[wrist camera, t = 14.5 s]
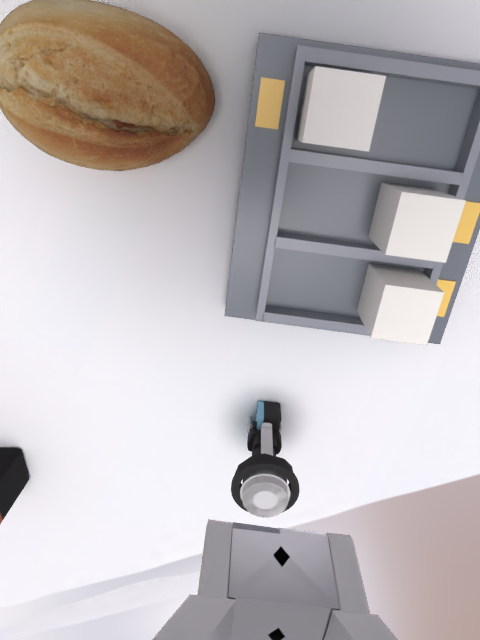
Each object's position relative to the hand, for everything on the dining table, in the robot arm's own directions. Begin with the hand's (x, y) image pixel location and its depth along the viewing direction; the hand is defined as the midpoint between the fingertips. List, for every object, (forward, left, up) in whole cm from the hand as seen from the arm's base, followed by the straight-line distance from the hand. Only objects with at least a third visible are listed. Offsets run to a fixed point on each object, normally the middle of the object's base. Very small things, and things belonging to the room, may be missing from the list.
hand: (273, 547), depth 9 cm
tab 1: (-9, +3, -27) cm, 29 cm away
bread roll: (-9, -12, -29) cm, 33 cm away
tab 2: (-3, +10, -27) cm, 29 cm away
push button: (+19, +3, -29) cm, 35 cm away
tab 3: (+3, +10, -27) cm, 29 cm away
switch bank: (-3, +7, -29) cm, 30 cm away
